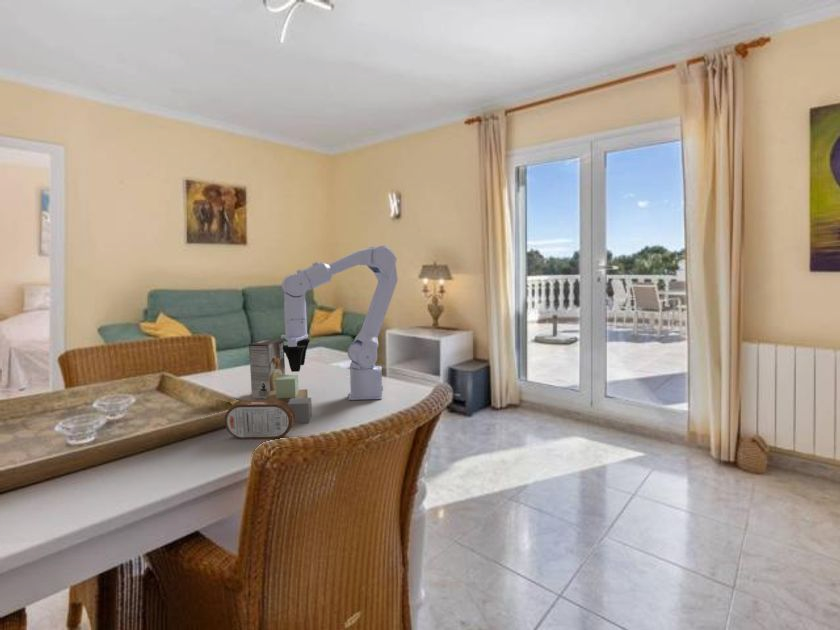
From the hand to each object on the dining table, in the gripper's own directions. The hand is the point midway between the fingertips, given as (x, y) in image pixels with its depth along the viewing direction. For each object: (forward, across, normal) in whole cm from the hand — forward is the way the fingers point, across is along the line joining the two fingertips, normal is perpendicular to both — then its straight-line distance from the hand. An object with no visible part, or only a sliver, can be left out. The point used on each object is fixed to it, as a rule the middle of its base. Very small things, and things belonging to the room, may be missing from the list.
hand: (297, 368), depth 126 cm
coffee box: (+10, -11, -11) cm, 19 cm away
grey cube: (+10, +13, +2) cm, 17 cm away
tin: (+10, +24, -5) cm, 26 cm away
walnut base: (+11, +3, -3) cm, 11 cm away
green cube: (+7, +3, -2) cm, 8 cm away
